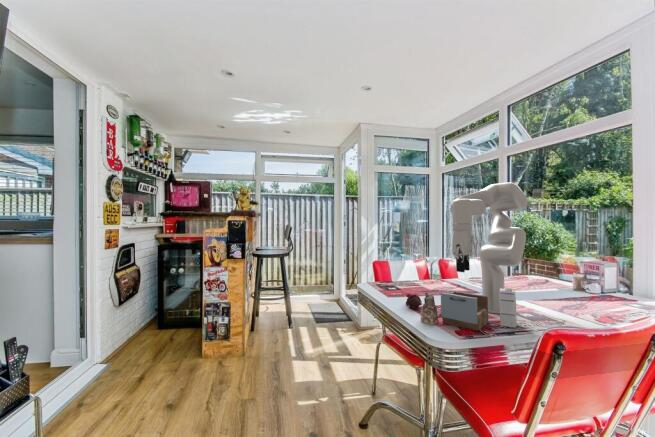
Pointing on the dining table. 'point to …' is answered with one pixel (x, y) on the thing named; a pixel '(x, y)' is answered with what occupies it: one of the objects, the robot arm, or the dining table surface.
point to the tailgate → (459, 308)
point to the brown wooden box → (481, 313)
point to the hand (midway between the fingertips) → (463, 270)
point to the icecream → (413, 301)
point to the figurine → (429, 310)
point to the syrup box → (507, 307)
